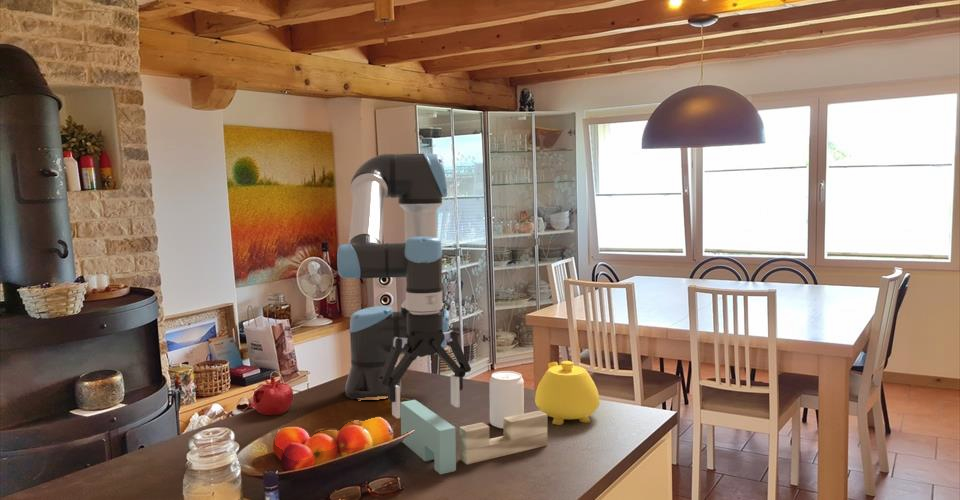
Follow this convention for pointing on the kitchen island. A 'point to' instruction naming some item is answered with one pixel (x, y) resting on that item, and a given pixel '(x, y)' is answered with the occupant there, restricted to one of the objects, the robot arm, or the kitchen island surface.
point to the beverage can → (505, 396)
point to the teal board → (429, 436)
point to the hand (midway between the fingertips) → (426, 411)
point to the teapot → (567, 393)
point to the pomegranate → (273, 397)
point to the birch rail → (503, 437)
